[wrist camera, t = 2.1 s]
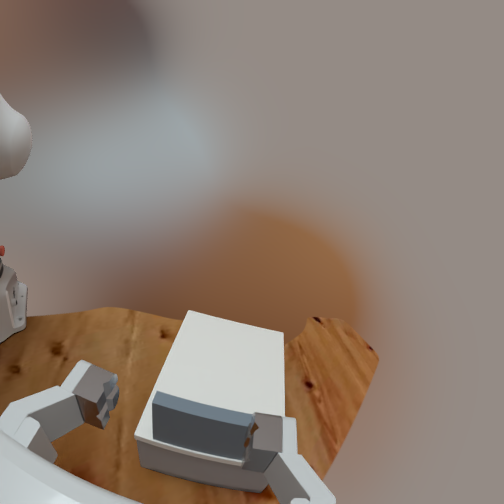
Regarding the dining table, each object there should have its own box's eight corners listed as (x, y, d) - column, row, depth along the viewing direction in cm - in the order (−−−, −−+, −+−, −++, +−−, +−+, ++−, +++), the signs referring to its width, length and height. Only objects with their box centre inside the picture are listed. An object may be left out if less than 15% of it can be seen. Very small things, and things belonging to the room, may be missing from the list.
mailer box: (260, 493, 29) (281, 468, 26) (140, 466, 29) (136, 436, 25) (267, 376, 51) (281, 340, 48) (181, 355, 51) (186, 317, 47)
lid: (281, 471, 25) (309, 437, 22) (134, 438, 25) (129, 397, 22) (281, 337, 48) (296, 297, 45) (187, 314, 48) (194, 273, 45)
